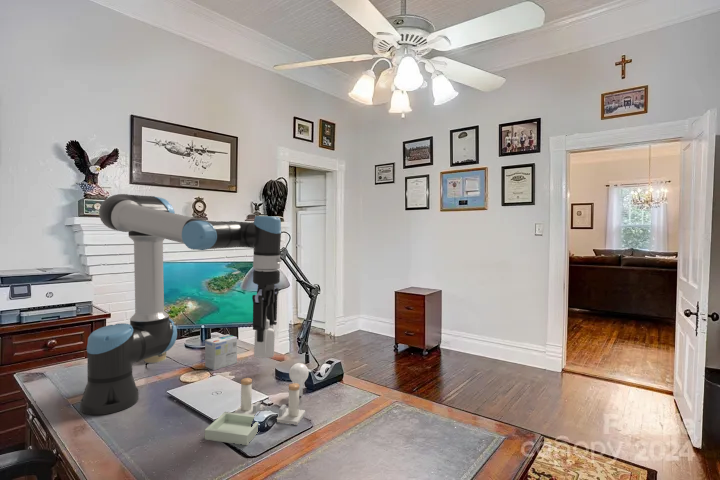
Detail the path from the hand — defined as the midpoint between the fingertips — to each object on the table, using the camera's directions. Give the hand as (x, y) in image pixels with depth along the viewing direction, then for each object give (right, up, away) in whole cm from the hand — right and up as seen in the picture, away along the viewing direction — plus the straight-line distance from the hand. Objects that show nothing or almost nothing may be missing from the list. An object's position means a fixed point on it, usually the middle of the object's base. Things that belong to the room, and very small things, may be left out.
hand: (264, 349), depth 113 cm
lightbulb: (+7, -20, +15) cm, 26 cm away
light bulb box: (-27, -18, +41) cm, 53 cm away
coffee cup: (-55, -17, +45) cm, 73 cm away
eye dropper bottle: (0, -2, 0) cm, 2 cm away
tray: (-6, -20, -7) cm, 23 cm away
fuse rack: (+1, -20, +2) cm, 20 cm away
